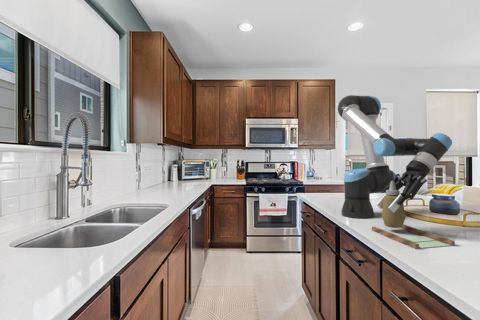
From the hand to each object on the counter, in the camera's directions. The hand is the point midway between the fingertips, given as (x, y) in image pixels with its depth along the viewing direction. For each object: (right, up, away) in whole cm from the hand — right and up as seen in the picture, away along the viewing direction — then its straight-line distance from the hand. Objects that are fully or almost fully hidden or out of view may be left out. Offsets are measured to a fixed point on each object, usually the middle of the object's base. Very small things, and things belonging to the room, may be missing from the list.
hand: (384, 208), depth 102 cm
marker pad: (+6, -9, -13) cm, 17 cm away
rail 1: (-2, -10, -8) cm, 13 cm away
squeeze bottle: (+4, -8, +1) cm, 8 cm away
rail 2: (+11, -9, -6) cm, 16 cm away
